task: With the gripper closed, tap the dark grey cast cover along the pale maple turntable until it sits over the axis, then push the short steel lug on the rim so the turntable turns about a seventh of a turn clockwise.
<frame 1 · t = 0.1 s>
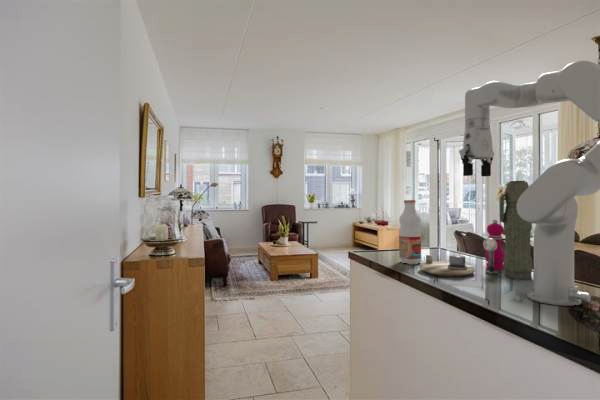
hand: (477, 175, 125), 37 cm above the table, tool pointing down, fingers open, 9 cm apart
cover: (457, 268, 139), point 2 cm above the table, touching turntable
turntable: (446, 263, 143), point 3 cm above the table, hinge at 0.0°, touching cover
globe topped trophy: (491, 273, 141), on the table
thermos: (517, 277, 134), on the table
fruit juice: (410, 263, 164), on the table
pepper mill: (495, 268, 150), on the table
turntable base: (446, 272, 143), on the table
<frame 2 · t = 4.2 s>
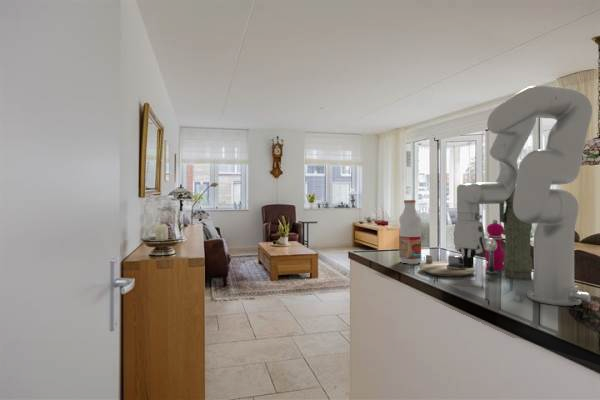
hand: (468, 267, 134), 4 cm above the table, tool pointing down, fingers closed
cover: (456, 268, 139), point 2 cm above the table, touching gripper
turntable: (446, 263, 143), point 3 cm above the table, hinge at 0.0°
everything else where it was.
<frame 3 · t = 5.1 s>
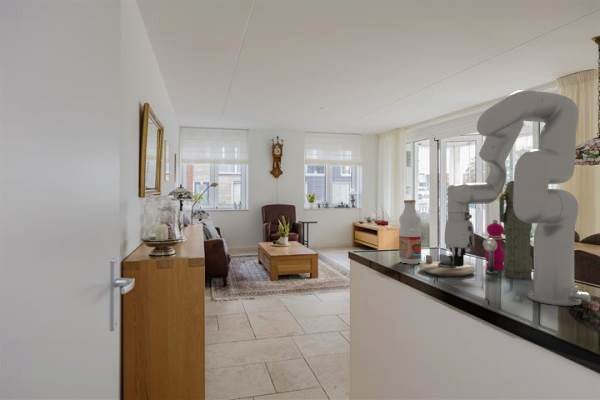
hand: (458, 265, 138), 3 cm above the table, tool pointing down, fingers closed
cover: (447, 266, 143), point 2 cm above the table, touching gripper
everything else where it was.
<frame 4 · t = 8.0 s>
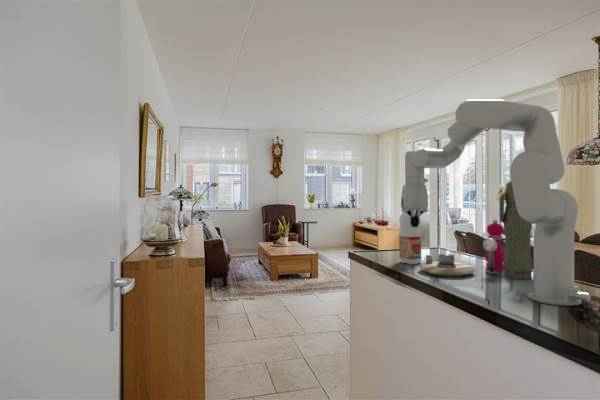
hand: (414, 226, 150), 17 cm above the table, tool pointing down, fingers closed
cover: (446, 266, 143), point 2 cm above the table, touching turntable
turntable: (446, 263, 143), point 3 cm above the table, hinge at 0.1°, touching cover
everything else where it was.
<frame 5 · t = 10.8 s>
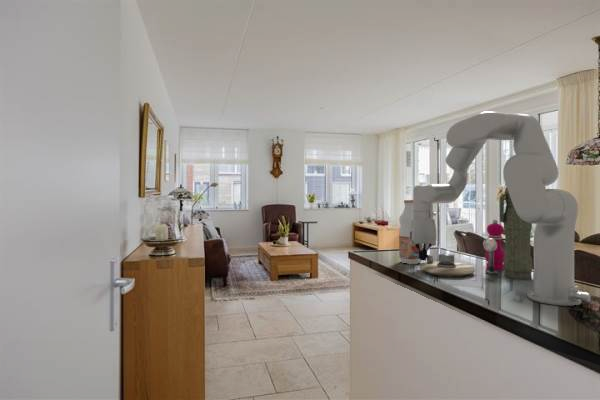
hand: (422, 259, 151), 4 cm above the table, tool pointing down, fingers closed
turntable: (446, 263, 143), point 3 cm above the table, hinge at -3.5°, touching cover, gripper
everything else where it was.
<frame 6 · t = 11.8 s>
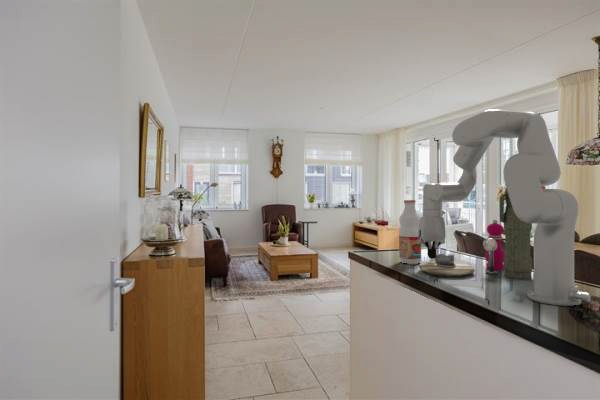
hand: (431, 257, 151), 4 cm above the table, tool pointing down, fingers closed
turntable: (446, 263, 143), point 3 cm above the table, hinge at -29.8°, touching cover, gripper
everything else where it was.
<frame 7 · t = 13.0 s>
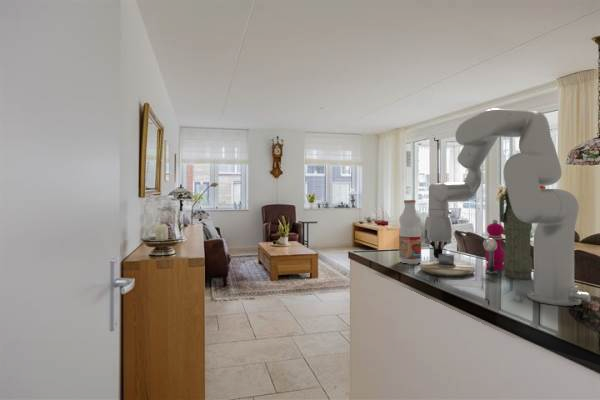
hand: (437, 257, 151), 4 cm above the table, tool pointing down, fingers closed
turntable: (446, 263, 143), point 3 cm above the table, hinge at -46.9°, touching cover, gripper
everything else where it was.
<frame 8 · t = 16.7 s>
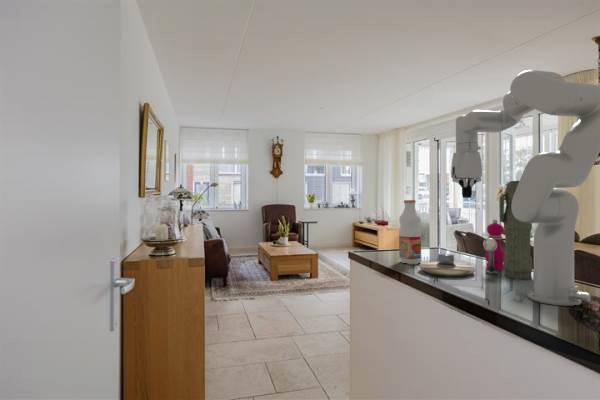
hand: (466, 197, 138), 29 cm above the table, tool pointing down, fingers closed
turntable: (446, 263, 143), point 3 cm above the table, hinge at -47.2°, touching cover
everything else where it was.
at the end: cover 0.2 cm from the turntable (horizontally); turntable at -47° (first picture: +0°); cover tilted 0° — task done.
